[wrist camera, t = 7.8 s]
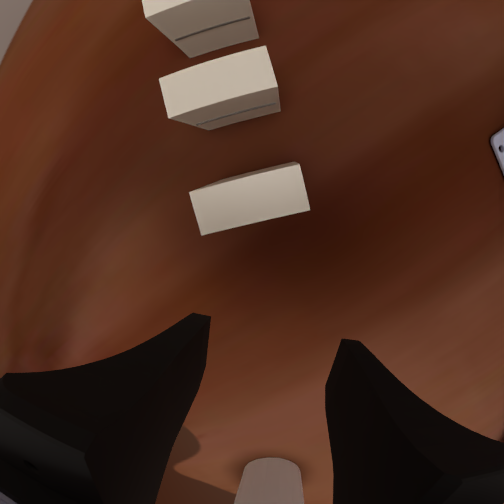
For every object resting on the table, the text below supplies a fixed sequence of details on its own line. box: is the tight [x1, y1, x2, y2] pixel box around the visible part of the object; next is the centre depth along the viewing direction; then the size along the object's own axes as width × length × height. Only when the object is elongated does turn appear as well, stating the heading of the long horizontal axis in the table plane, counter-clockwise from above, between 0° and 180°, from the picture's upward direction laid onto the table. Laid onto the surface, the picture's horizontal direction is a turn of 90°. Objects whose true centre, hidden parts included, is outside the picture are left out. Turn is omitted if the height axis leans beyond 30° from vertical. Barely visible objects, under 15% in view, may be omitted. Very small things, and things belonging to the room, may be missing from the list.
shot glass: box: [234, 457, 304, 504], centre depth 23 cm, size 7×7×7 cm
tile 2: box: [159, 46, 281, 130], centre depth 14 cm, size 2×4×7 cm, turn 104°
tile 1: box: [142, 0, 259, 58], centre depth 13 cm, size 2×4×7 cm, turn 104°
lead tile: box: [189, 162, 310, 235], centre depth 16 cm, size 2×4×7 cm, turn 104°
